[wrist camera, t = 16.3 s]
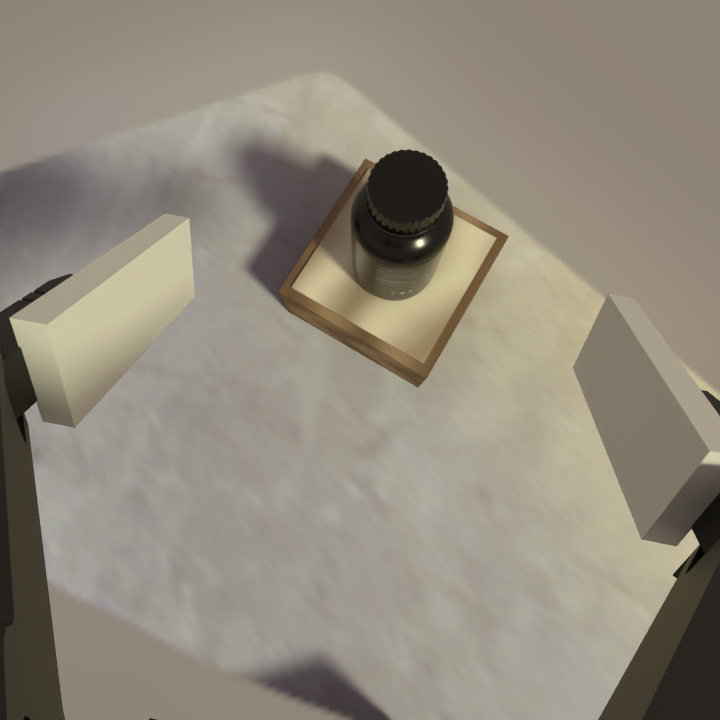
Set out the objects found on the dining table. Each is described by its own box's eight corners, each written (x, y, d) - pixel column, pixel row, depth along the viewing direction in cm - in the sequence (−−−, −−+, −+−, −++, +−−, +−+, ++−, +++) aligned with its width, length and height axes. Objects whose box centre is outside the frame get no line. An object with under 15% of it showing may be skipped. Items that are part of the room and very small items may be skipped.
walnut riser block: (288, 311, 46) (277, 290, 40) (364, 194, 48) (365, 156, 42) (417, 387, 45) (427, 377, 38) (489, 263, 47) (509, 234, 41)
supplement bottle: (452, 260, 40) (490, 181, 28) (397, 319, 39) (413, 264, 27) (389, 208, 41) (402, 111, 29) (335, 265, 40) (324, 189, 28)
